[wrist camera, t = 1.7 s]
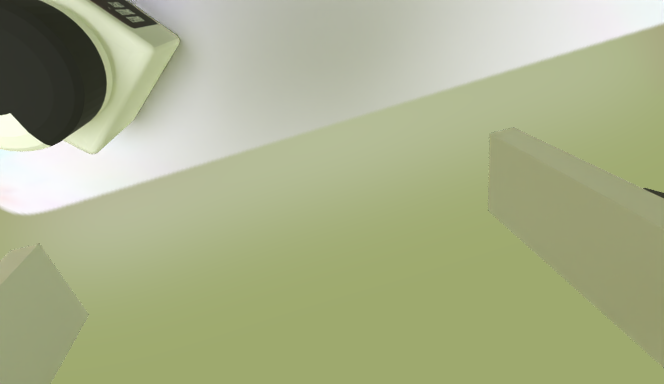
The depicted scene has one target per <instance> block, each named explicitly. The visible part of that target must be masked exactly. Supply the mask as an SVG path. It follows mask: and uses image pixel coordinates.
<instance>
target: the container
mask: <svg viewBox="0 0 664 384" xmlns="http://www.w3.org/2000/svg"><path fill="white" fill-rule="evenodd" d="M179 42H180V40H179V37H178V36H177V35H175V34H174V33H173V32H171V31H170V30H168V29H167V28H166V27H164V26H163V25H161V24H160V23H158V22H157V21H156V20H154V19H153V18H151V17H150V16H149V15H147V14H146V13H144V12H143V11H142V10H140V9H139V8H137V7H136V6H134V5H133V4H132V3H130V2H129V1H127V0H0V149H3V150H9V151H34V150H40V149H44V148H47V147H50V146H53V145H55V144H57V143H59V142H61V141H62V140H64V141H66V142H68V143H69V144H71V145H73V146H75V147H77V148H79V149H81V150H83V151H85V152H87V153H89V154H96V153H98V152H99V151H100V150H101V149H102V148H103V147H104V146H105V145H107V144H108V143H109V142H110V141H111V140H112V139H113V138H114V137H115V136H117V135H118V134H119V133H120V132H121V131H122V130H123V129H124V128H125V127H127V126H128V125H129V124H130V123H131V122H132V121H133V120H134V119H135V117H136V115H137V114H138V112H139V110H140V109H141V107H142V105H143V104H144V102H145V100H146V99H147V97H148V95H149V94H150V92H151V90H152V89H153V87H154V85H155V83H156V82H157V80H158V78H159V77H160V75H161V73H162V72H163V70H164V68H165V67H166V65H167V63H168V62H169V60H170V58H171V57H172V55H173V53H174V52H175V50H176V48H177V47H178V45H179Z"/></svg>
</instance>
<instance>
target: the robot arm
mask: <svg viewBox="0 0 664 384" xmlns="http://www.w3.org/2000/svg"><path fill="white" fill-rule="evenodd" d="M488 211H489V212H490V213H491V214H492V215H493V216H495V217H496V218H497V219H498V220H499V221H500V222H501V223H502V224H503V225H505V226H506V227H507V228H508V229H509V230H510V231H511V232H512V233H513V234H515V235H516V236H517V237H518V238H519V239H520V240H521V241H522V242H523V243H525V244H526V245H527V246H528V247H529V248H530V249H531V250H532V251H534V252H535V253H536V254H537V255H538V256H539V257H540V258H541V259H542V260H544V261H545V262H546V263H547V264H548V265H549V266H550V267H552V269H554V270H555V271H556V272H557V273H558V274H559V275H560V276H561V277H563V278H564V279H565V280H566V281H567V282H568V283H569V284H570V285H571V286H573V287H574V288H575V289H576V290H577V291H578V292H579V293H580V294H582V295H583V296H584V297H585V298H586V299H587V300H588V301H589V302H591V303H592V304H593V305H594V306H595V307H596V308H597V309H598V310H600V311H601V312H602V313H603V314H604V315H605V316H606V317H607V318H608V319H610V320H611V321H612V322H613V323H614V324H615V325H616V326H617V327H618V328H620V329H621V330H622V331H623V332H624V333H625V334H626V335H627V336H629V337H630V338H631V339H632V340H633V341H634V342H635V343H636V344H637V345H639V346H640V347H641V348H642V349H643V350H644V351H645V352H646V353H647V354H649V355H650V356H651V357H652V358H653V359H654V360H655V361H656V362H658V363H659V364H660V365H661V366H662V367H663V368H664V193H662V192H658V191H654V190H651V189H647V188H643V189H642V188H641V187H638V186H636V185H634V184H632V183H630V182H628V181H626V180H624V179H621V178H620V177H617V176H615V175H613V174H611V173H609V172H607V171H605V170H603V169H601V168H598V167H596V166H594V165H592V164H590V163H588V162H586V161H583V160H581V159H579V158H577V157H575V156H573V155H571V154H569V153H567V152H565V151H563V150H560V149H558V148H556V147H554V146H552V145H550V144H548V143H546V142H544V141H542V140H539V139H537V138H535V137H533V136H531V135H529V134H527V133H525V132H523V131H521V130H518V129H516V128H514V127H513V128H508V129H505V130H500V131H497V132H493V133H490V140H489V188H488ZM88 315H89V314H88V312H87V311H86V309H85V308H84V307H83V305H82V304H81V302H80V301H79V299H78V298H77V297H76V295H75V294H74V292H73V291H72V289H71V288H70V287H69V285H68V284H67V282H66V281H65V279H64V278H63V276H62V275H61V274H60V272H59V271H58V269H57V268H56V266H55V265H54V264H53V262H52V261H51V259H50V258H49V256H48V255H47V254H46V252H45V251H44V249H43V248H42V246H41V245H40V244H35V245H31V246H27V247H22V248H19V249H14V250H11V251H10V252H9V253H8V254H7V255H6V256H4V257H3V259H2V260H0V384H51V382H52V380H53V378H54V377H55V375H56V373H57V371H58V369H59V368H60V366H61V364H62V362H63V360H64V359H65V357H66V355H67V353H68V351H69V350H70V348H71V346H72V344H73V342H74V341H75V339H76V337H77V335H78V333H79V332H80V330H81V328H82V326H83V324H84V323H85V321H86V319H87V317H88Z"/></svg>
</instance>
